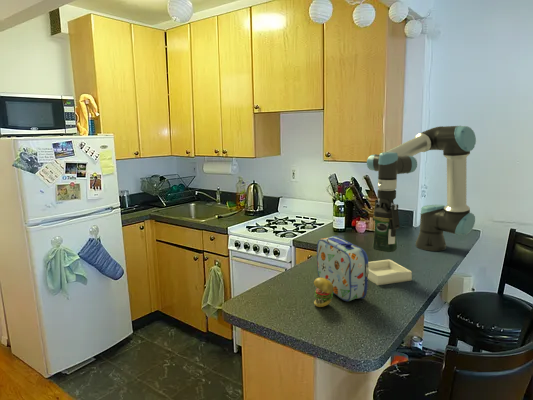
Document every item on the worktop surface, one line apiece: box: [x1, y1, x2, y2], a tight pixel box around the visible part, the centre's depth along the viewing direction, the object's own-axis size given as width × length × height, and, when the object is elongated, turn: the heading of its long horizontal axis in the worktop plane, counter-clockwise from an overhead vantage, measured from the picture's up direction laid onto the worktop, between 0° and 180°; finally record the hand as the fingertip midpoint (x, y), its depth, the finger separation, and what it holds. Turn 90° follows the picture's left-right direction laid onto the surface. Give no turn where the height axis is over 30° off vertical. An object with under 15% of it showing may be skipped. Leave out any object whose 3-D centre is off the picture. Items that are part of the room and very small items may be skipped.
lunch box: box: [316, 235, 370, 302], centre depth 150 cm, size 28×10×22 cm, turn 22°
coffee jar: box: [372, 208, 398, 253], centre depth 163 cm, size 10×8×19 cm
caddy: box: [367, 259, 413, 286], centre depth 167 cm, size 16×16×4 cm
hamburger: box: [313, 277, 334, 308], centre depth 139 cm, size 8×7×12 cm
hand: (384, 240), depth 164 cm, fingers closed on coffee jar, 9 cm apart
